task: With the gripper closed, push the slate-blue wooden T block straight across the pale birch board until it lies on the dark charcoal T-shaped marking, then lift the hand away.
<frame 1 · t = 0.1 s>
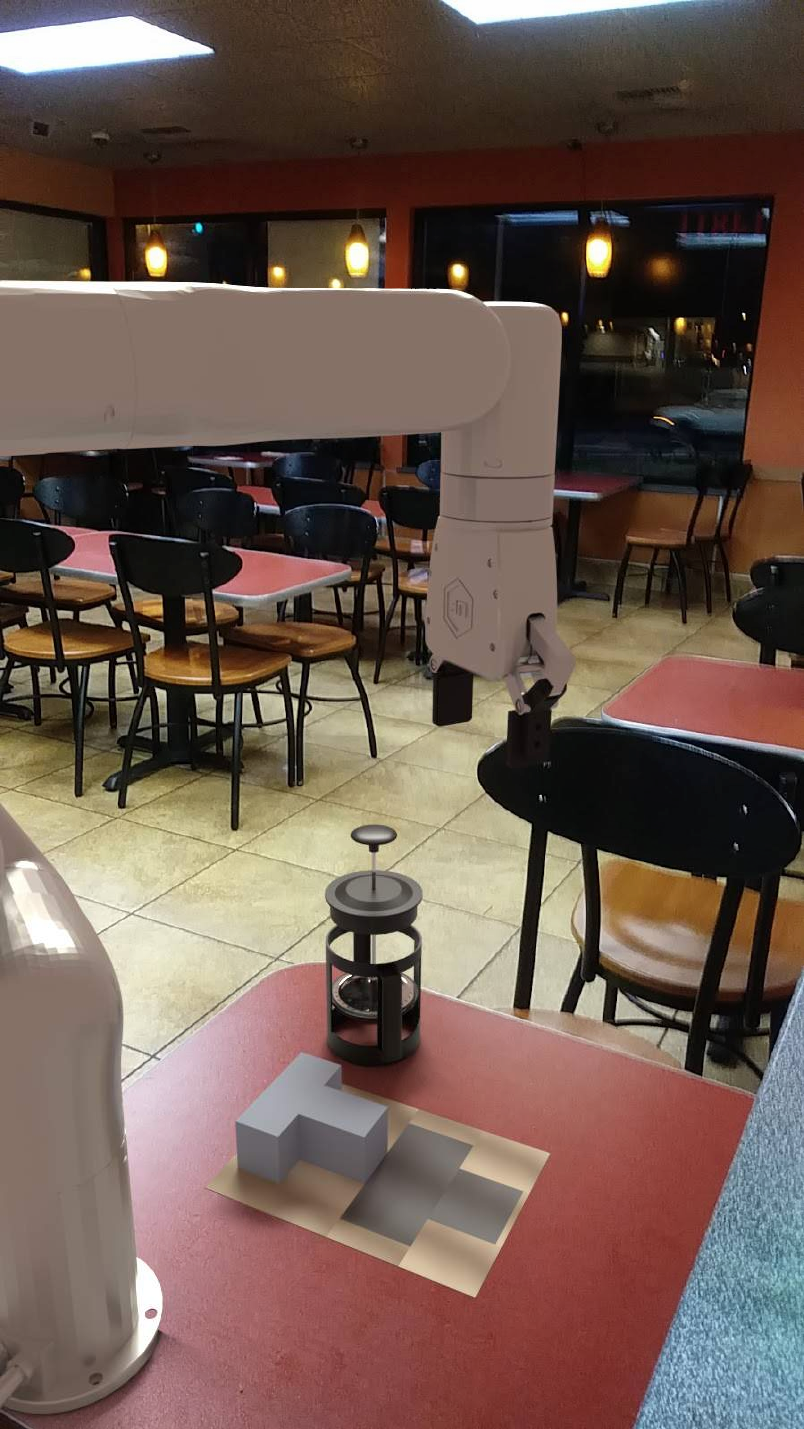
hand: (487, 742, 77), 37 cm above the table, tool pointing down, fingers open, 9 cm apart
board: (381, 1182, 87), on the table
french press: (375, 1053, 103), on the table
t block: (291, 1136, 90), point 1 cm above the table, touching board
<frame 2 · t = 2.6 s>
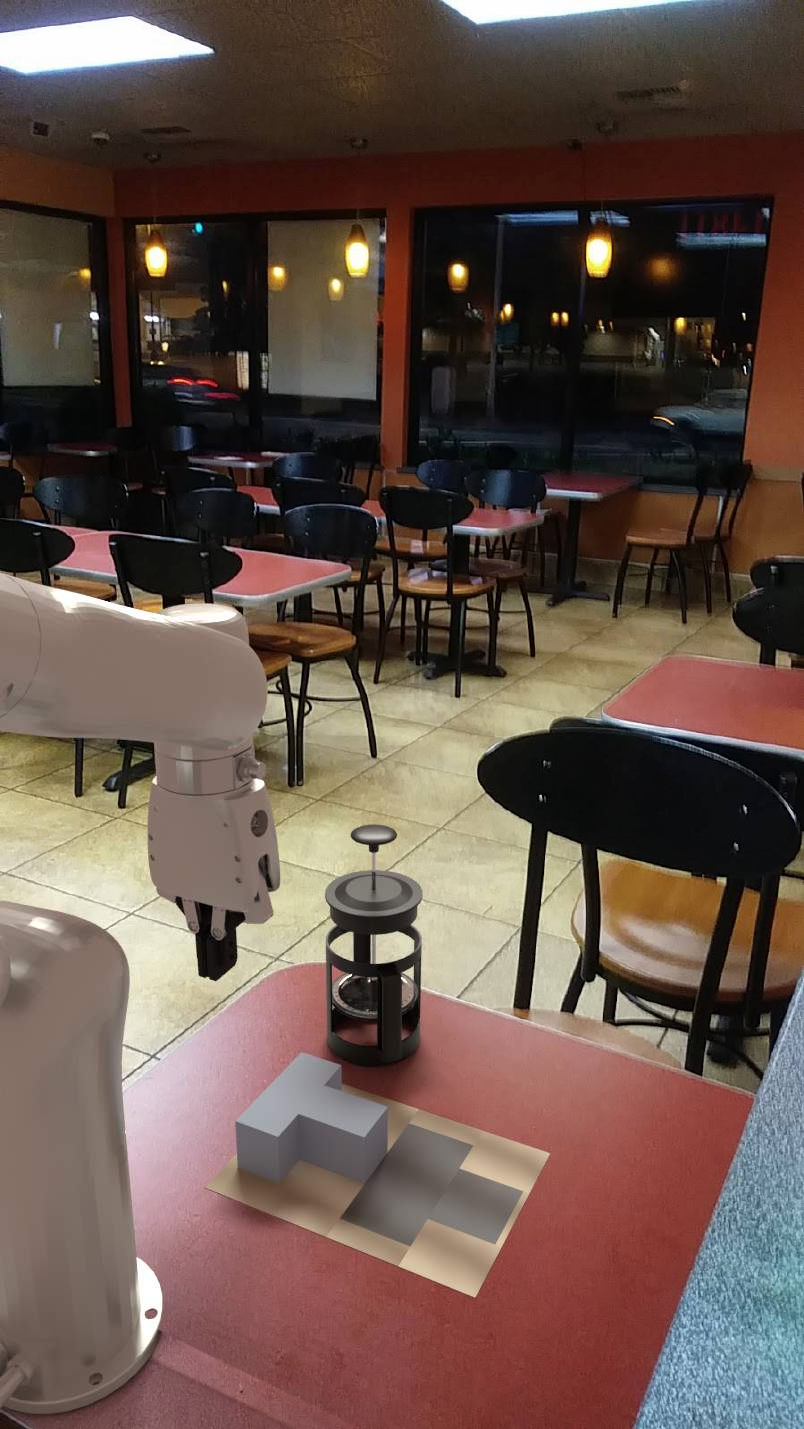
hand: (218, 970, 89), 15 cm above the table, tool pointing down, fingers closed
nothing on the table moved.
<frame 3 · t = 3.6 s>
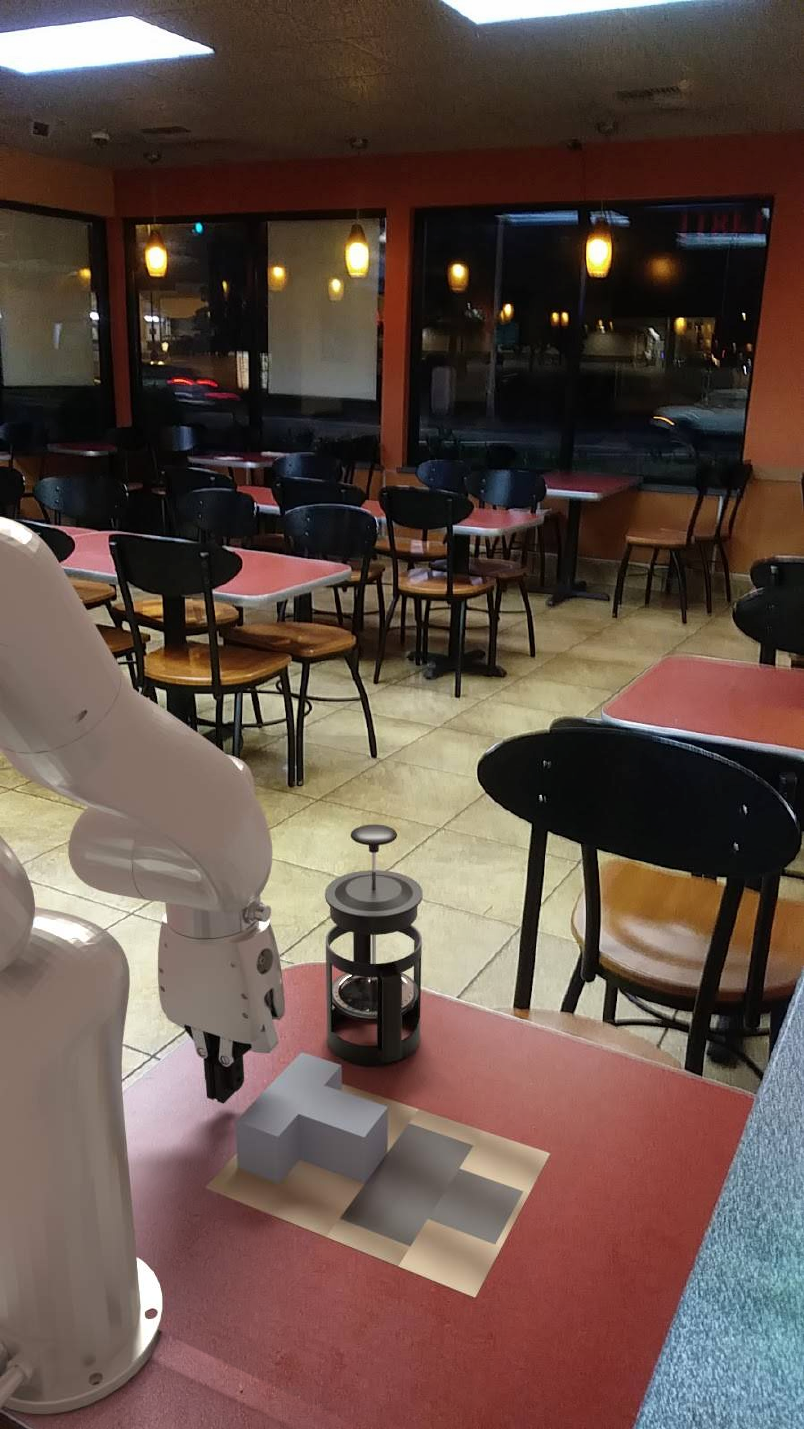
hand: (225, 1091, 93), 3 cm above the table, tool pointing down, fingers closed
nothing on the table moved.
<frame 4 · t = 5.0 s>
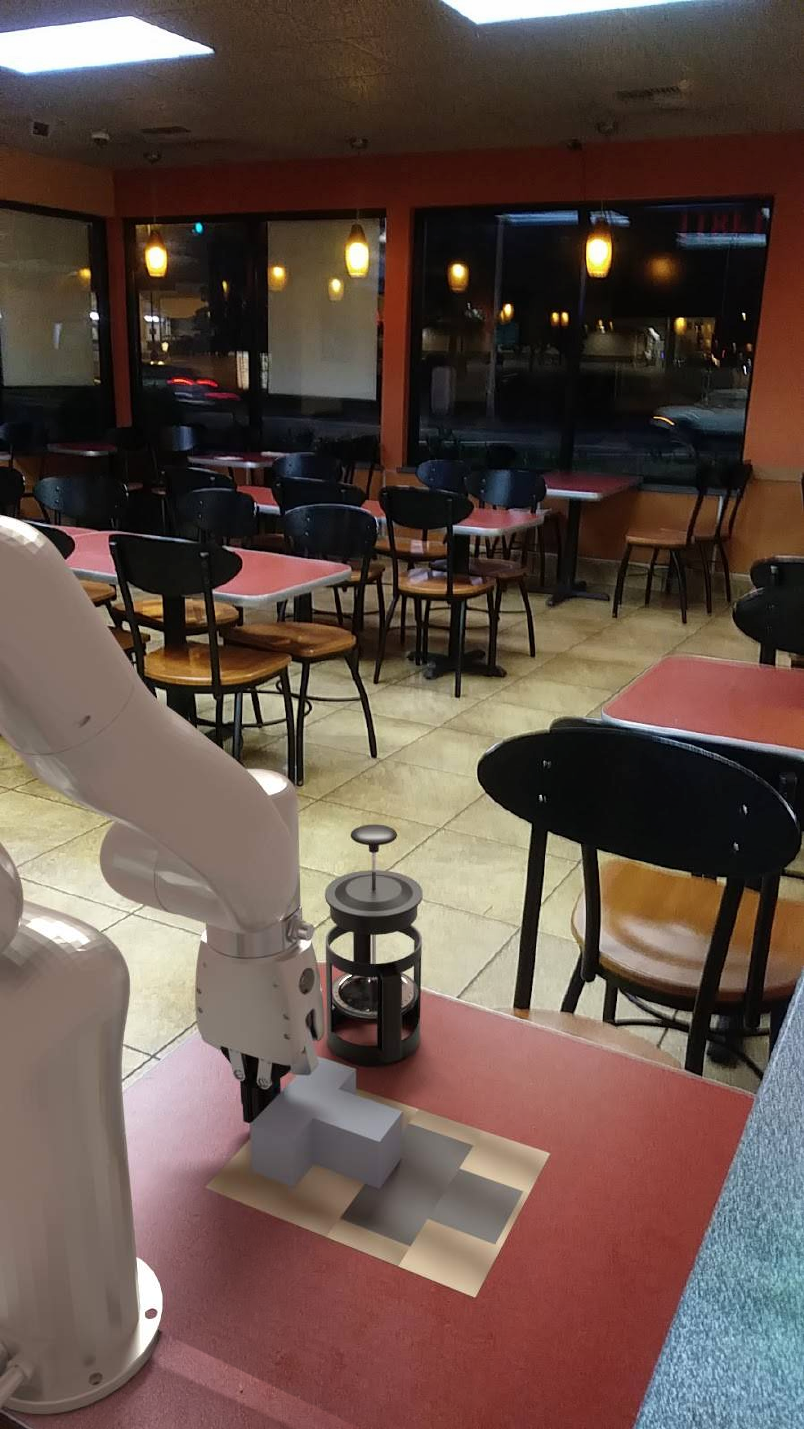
hand: (261, 1114, 91), 2 cm above the table, tool pointing down, fingers closed
t block: (306, 1140, 89), point 1 cm above the table, touching gripper
everything else where it was.
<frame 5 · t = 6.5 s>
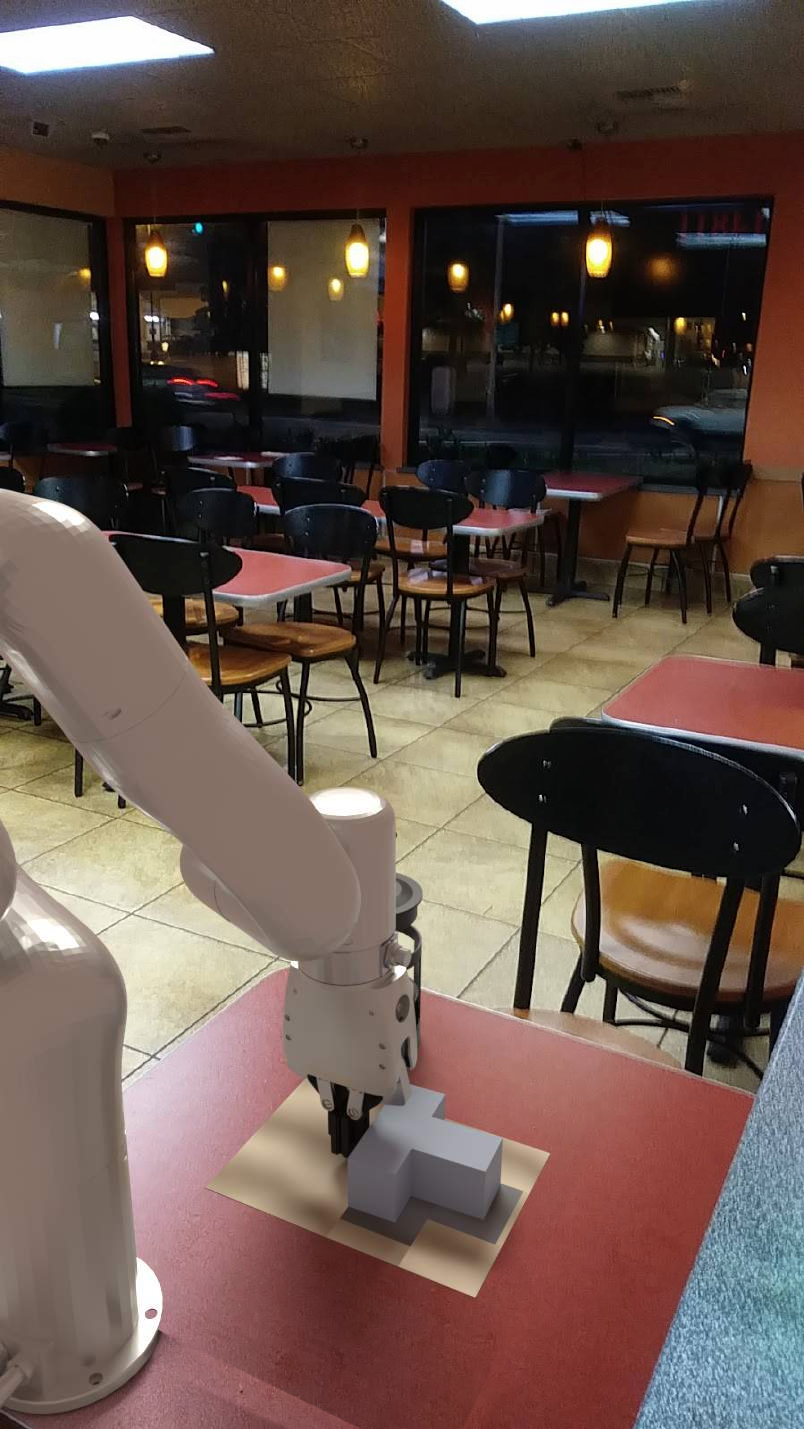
hand: (349, 1145, 87), 2 cm above the table, tool pointing down, fingers closed
t block: (398, 1171, 86), point 1 cm above the table, touching board, gripper
everything else where it was.
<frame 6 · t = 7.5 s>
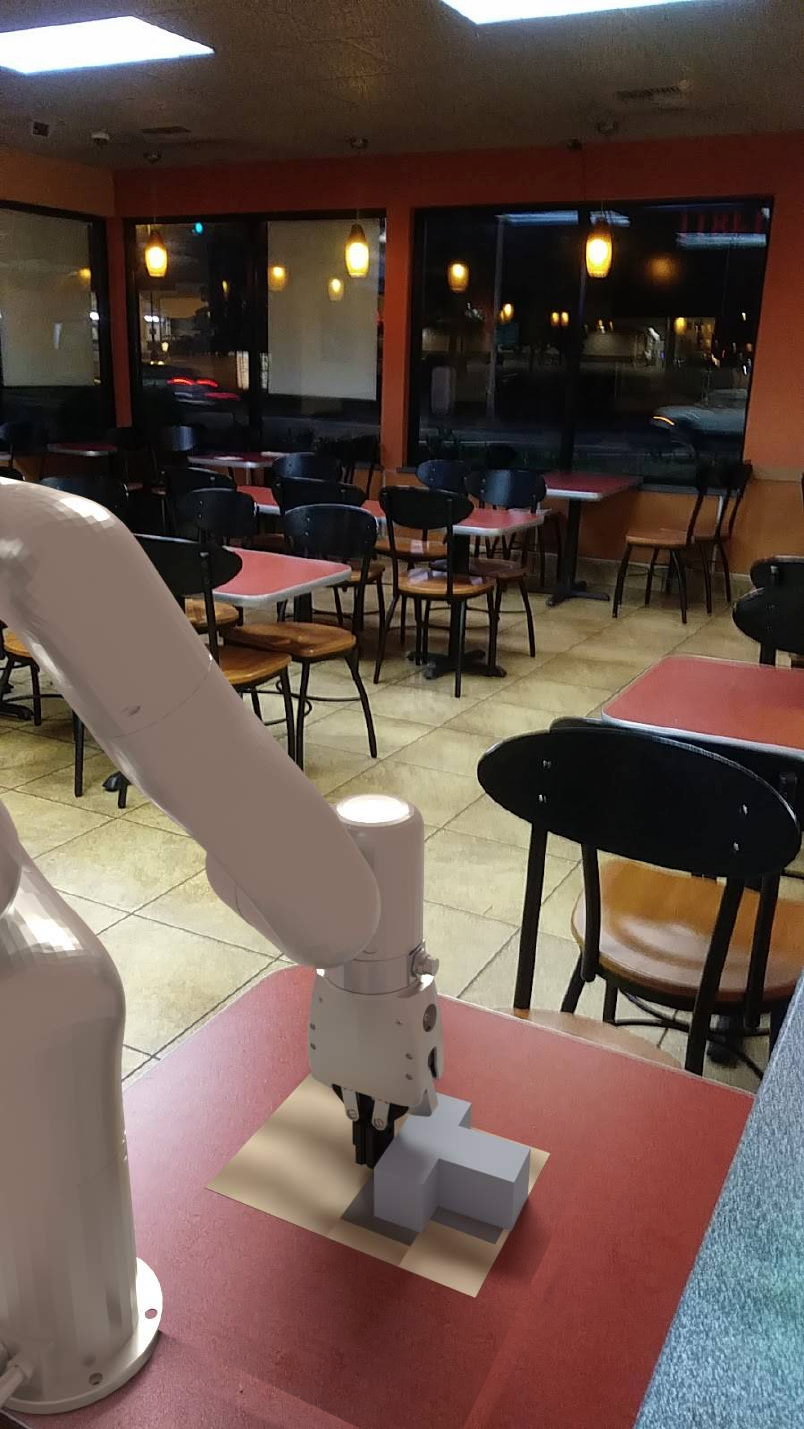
hand: (373, 1155, 86), 2 cm above the table, tool pointing down, fingers closed
t block: (424, 1180, 85), point 1 cm above the table, touching board, gripper
everything else where it was.
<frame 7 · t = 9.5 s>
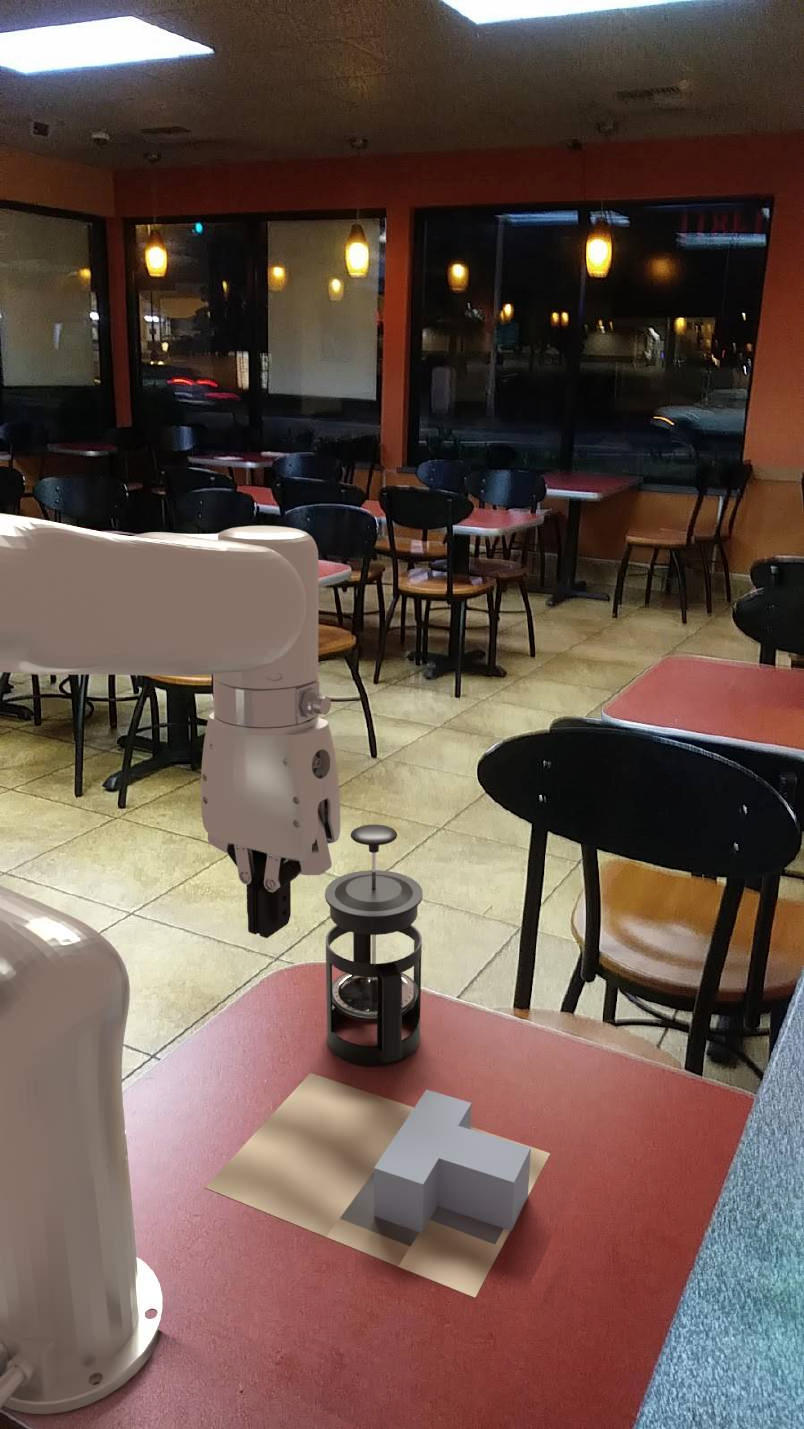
hand: (269, 927, 83), 21 cm above the table, tool pointing down, fingers closed
t block: (424, 1180, 85), point 1 cm above the table, touching board
everything else where it was.
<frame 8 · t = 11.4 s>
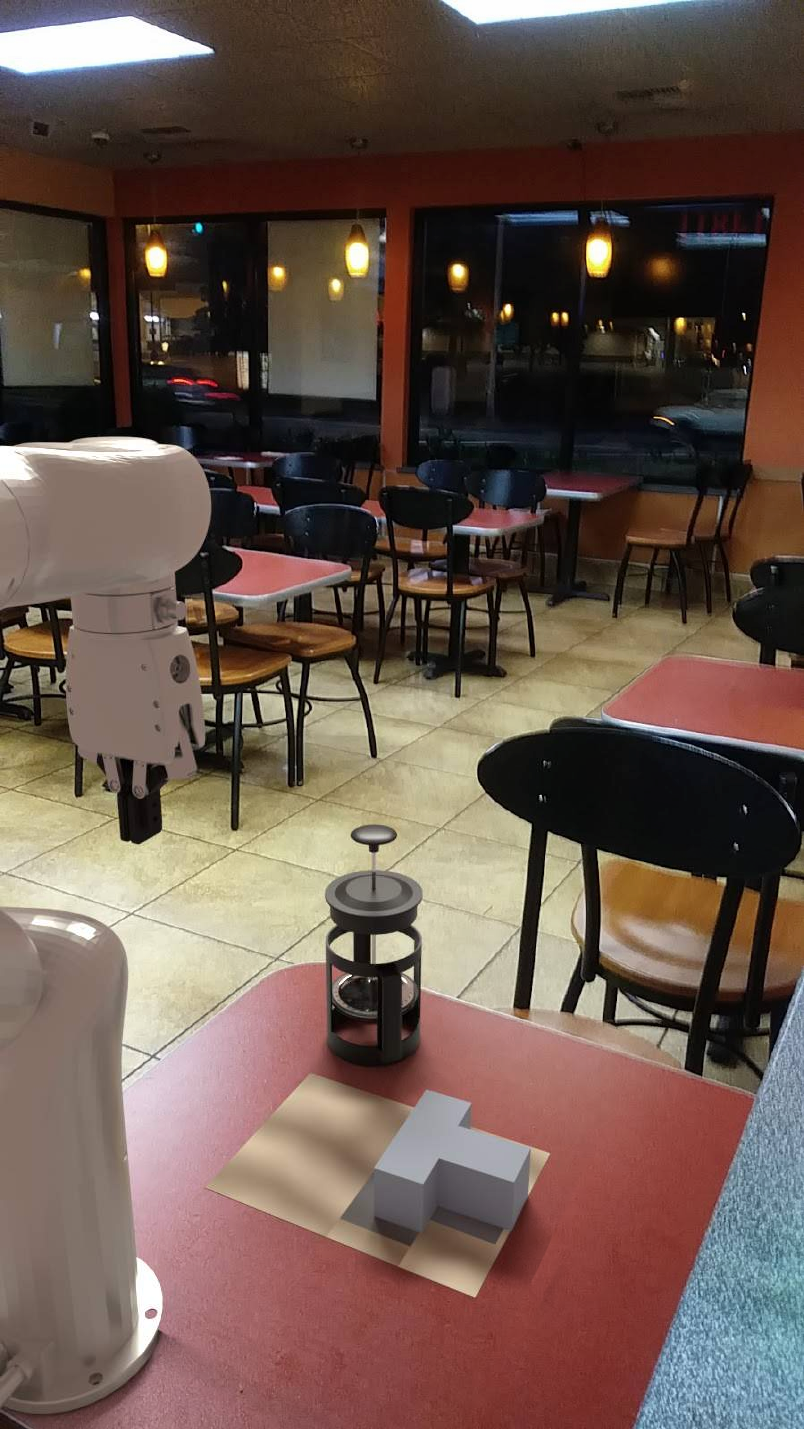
hand: (141, 835, 85), 27 cm above the table, tool pointing down, fingers closed
nothing on the table moved.
at the end: t block 1.1 cm from the target spot, point 1.2 cm above the table; t block tilted 0°; t block moved 12.1 cm from its start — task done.
